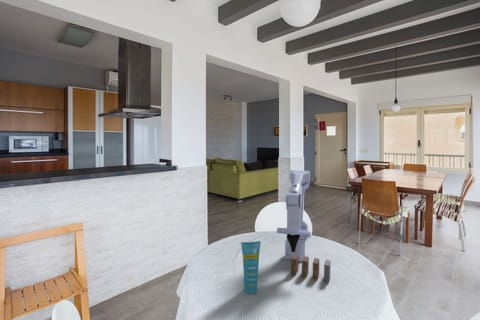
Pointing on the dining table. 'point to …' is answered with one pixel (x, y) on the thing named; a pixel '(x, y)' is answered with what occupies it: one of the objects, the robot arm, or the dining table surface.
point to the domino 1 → (294, 264)
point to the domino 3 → (315, 268)
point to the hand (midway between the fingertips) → (293, 251)
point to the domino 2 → (305, 266)
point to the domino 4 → (327, 270)
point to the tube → (250, 265)
